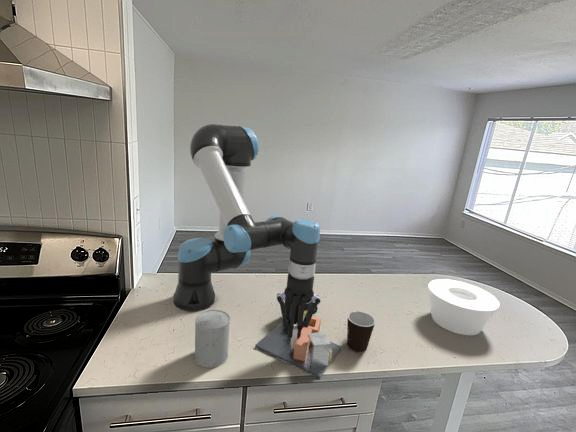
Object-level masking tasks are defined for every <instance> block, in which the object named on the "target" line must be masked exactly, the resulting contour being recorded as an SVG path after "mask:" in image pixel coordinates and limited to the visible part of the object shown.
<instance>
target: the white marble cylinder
mask: <svg viewBox="0 0 576 432" xmlns="http://www.w3.org/2000/svg"><path fill="white" fill-rule="evenodd" d="M194 321H195V325H194V326H195V329H194V335H195V336H194V356H193V357H194V361H195V363H196V364H197V365H198V366H200V367H201V368H202V367H203V368H206V369H207V368H208V369H211V368H213V369H214V368H217V367H219V366H222V365H224V364H225V363H226V362H227V360H228V357H229V344H230V342H229V339H230V321H231V316H230V315H229V314H228V313H227V312H226V311H223V310H220V309H208V310H203V311H202V312H200V313H198V314H197V315H196V317H195V320H194Z"/></svg>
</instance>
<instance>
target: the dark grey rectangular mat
mask: <svg viewBox="0 0 576 432" xmlns="http://www.w3.org/2000/svg"><path fill="white" fill-rule="evenodd" d="M288 329H289V327H284V324H283V320H282V321H281V322H280V323H279V324H277V326H275V327H274V328H273V329H272V330H271V331H270V332H269V333H267V334H266V335H265V336H264V337H263V338H261V340H259V341H258V342H257V343H256V344H255V348H256V349H258V350H260V351H262V352H264V353H266V354H267V355H268V354H269V355H270V356H272V357H274V358H276V359H278V360H281V361H283V362H285V363H287V364H289V365H291V366H293V367H295V368H297V369H298V370H299V369H300V370H302V371H303V372H306V373H307V374H310V375H311V376H314V377H315V378H318V379H321V377H322V376H323V375H324V373H325V372H326V371H327V370H328V368H329V366H330V365H331V363H333V360H335V358H336V356H338V354H339V352H340V351H341V349H342V346H341V345H340V344H337V343H335V342H332V341H330V340H329V342H330V343H331V346H330V349H331V350H332V356H331V362H328V366H323V367H314V368H311V366H310V363H311V355H312V347H313V346H312V344H311V343H310V346H309V350H308V353H307V356H306V360H305V361H302V360H298V359H294V358H293V357H294V349H291V344H290V342H291V338H290V337H289V336H288Z"/></svg>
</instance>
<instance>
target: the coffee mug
mask: <svg viewBox="0 0 576 432" xmlns="http://www.w3.org/2000/svg"><path fill="white" fill-rule="evenodd" d="M375 325H376V319H375V317H374V316H372V315H371V314H370V313H368V312H365V311H360V310H354V311H350V312H349V313H348V314H347V327H346V330H347V331H346V332H347V333H346V346H347V347H348V349H350V350H351V351H353V352H355V353H364V352H366V351H367V349H368V346H369V343H370V339H371V337H372V334H373V331H374V327H375Z"/></svg>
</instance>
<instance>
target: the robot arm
mask: <svg viewBox="0 0 576 432" xmlns="http://www.w3.org/2000/svg"><path fill="white" fill-rule="evenodd" d="M259 148H260V147H259V141H258V137H257V135H256V134H255V132H254V131H253V130H252V129H251V128H249V127H245V126H240V125H227V124H226V125H225V124H216V123H210V124H205V125H203V126H201V127H200V128H198V129H197V130H196V132H195V133H194V134H193V135H192V138H191V140H190V146H189V150H190V151H189V152H190V156H191V160H192V161H193V164H194V166H195V167H197V168H199V169H200V171H201V173H202V175H203V177H204V180H205V182H206V184H207V186H208V189H209V190H210V192H211V193H210V194H211V195H212V197H213V199H214V202H215V204H216V207H217V208H218V210H219V223H218V225H219V226H218V231H217V232H215V233H214V240H213V241H212V240H211V239H209V238H207V237H196V238H195V237H194V238H191V239H187V240H186V241H184V242H182V243H181V244H180V246H179V248H178V254H177V261H178V265H177V266H178V268H177V269H178V270H177V271H178V274H177V275H178V276H177V277H178V280H177V281H178V282H177V285H176V288H175V291H174V293H173V295H172V296H173V297H172V298H173V299H172V301H173V303H172V304H173V305H174V307H175V308H177V309H179V310H181V311H184V312H185V311H186V312H198V311H202V310H203V311H204V310H206V309H208V308H210V307H212V306H213V305H214V304H215V302H216V293H215V290H214V286H213V283H212V274H213V273H214V274H215V273H219V272H223V271H227V270H232V269H233V270H235V269H238V268H240V267H244V266H245V265H247V263H248V262H249V260H250V257H251V251H253V250H258V249H259V250H260V249H266V248H270V247H275V246H276V247H277V246H282V247H284V248H287V249H289V251H290V252H289V253H290V255H289V261H288V271H287V272H288V274H287V280H286V281H287V282H286V287H285V288H284V291H283V292H281V293H280V292H278V293H277V294H276V301H277V302H278V304H279V306H280V312H281V318H282V321H283V324H284V327H289V329H288V336H289V337H290V338H291V342H290V344H291V349H294V348H295V342H296V340H297V338H300V336H301V330H302V328H303V327H305V328H307V327H308V325H309V323H310V320H311V318H312V317H314V314H313V313H314V311H315V308H316V306H317V307H318V305H319V304H321V298H320V295H316V294H315V292H314V290H313V289H314V283H315V282H314V281H315V273H316V267H317V266H316V265H317V256H318V249H319V244H320V240H321V239H320V238H321V237H320V236H321V235H320V233H321V226H320V224H319V223H318V222H316V221H315V220H310V219H304V218H303V219H302V218H301V219H300V218H299V219H295V220H294V222H293V221H292V220H290V219H286V218H285V217H283V216H278V215H273V216H270V217H269V218H267V219H266V220H265V221H255V220H254V219H253V217H252V215H251V213H250V210H249V209H248V207H247V205H246V203H245V188H246V176H247V175H246V174H247V173H246V172H247V170H248V169H249V168H250V167H251V166H252V164H251V163H252V161H254V160H256V159H257V156H258V154H259ZM285 297H287V298H288V300H289V301H290V303H291V308H290V317H289V321H288V320H287V316H286V310H285V304H284V303H285ZM311 298H312V299H311ZM310 299H311V300H312V301H311V303H310V305H309V308H308V310H307V313H306V315H305V318H304V320H303V315H304V309H305V304H306V303H307V302H308V301H309V300H310ZM296 305H299V311H298V320H297V324H294V319H295V310H296Z"/></svg>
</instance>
